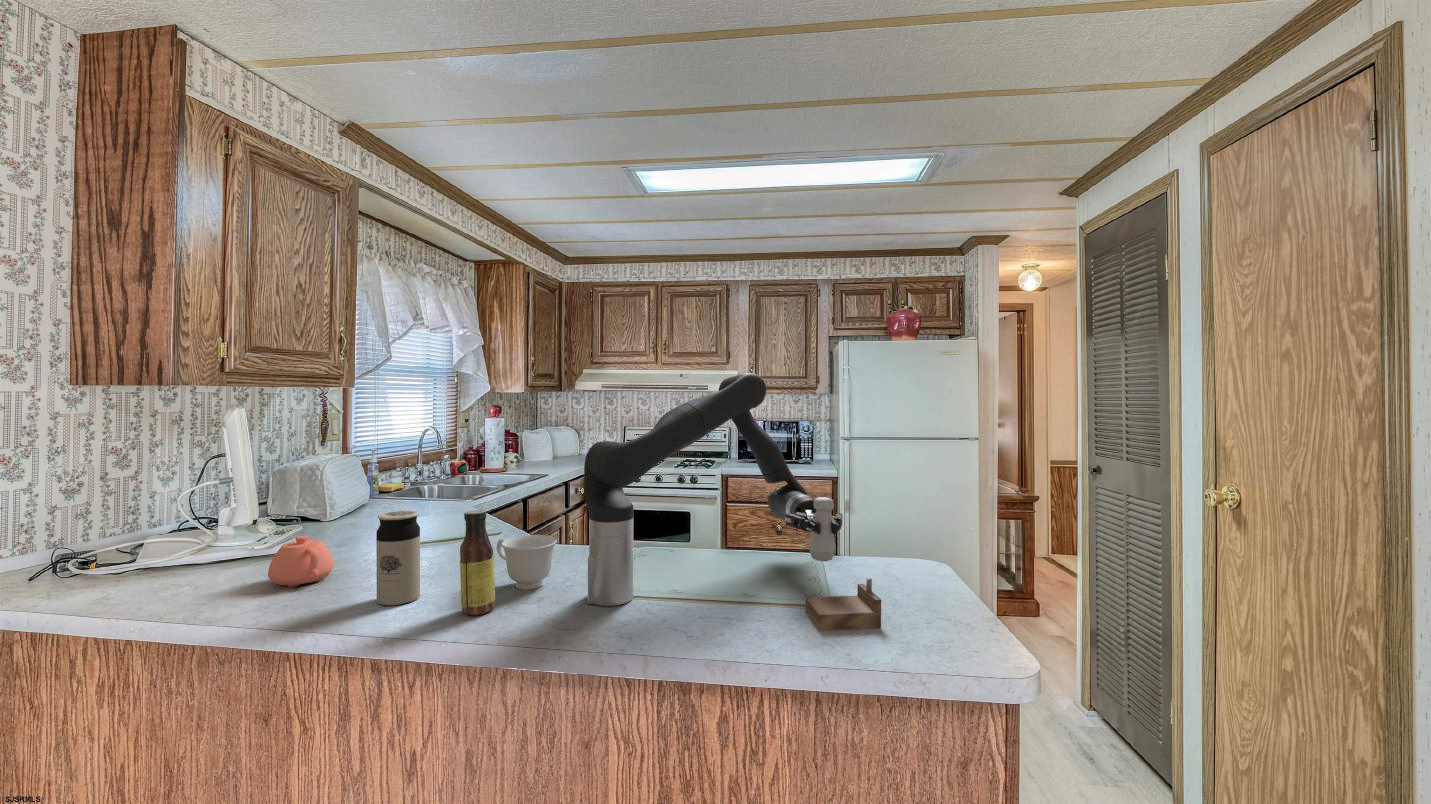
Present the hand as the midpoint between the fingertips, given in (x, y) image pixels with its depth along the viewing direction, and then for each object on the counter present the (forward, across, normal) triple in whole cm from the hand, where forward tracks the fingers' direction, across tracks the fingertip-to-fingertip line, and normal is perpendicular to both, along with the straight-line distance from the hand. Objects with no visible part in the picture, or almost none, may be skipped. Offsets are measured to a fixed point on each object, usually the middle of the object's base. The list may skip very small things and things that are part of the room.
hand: (827, 529), depth 120 cm
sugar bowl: (-25, -114, +18) cm, 119 cm away
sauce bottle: (-3, -70, +17) cm, 73 cm away
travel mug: (-11, -88, +17) cm, 91 cm away
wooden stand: (+9, 0, +16) cm, 18 cm away
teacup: (-18, -64, +17) cm, 69 cm away
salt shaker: (-3, 0, +7) cm, 8 cm away
